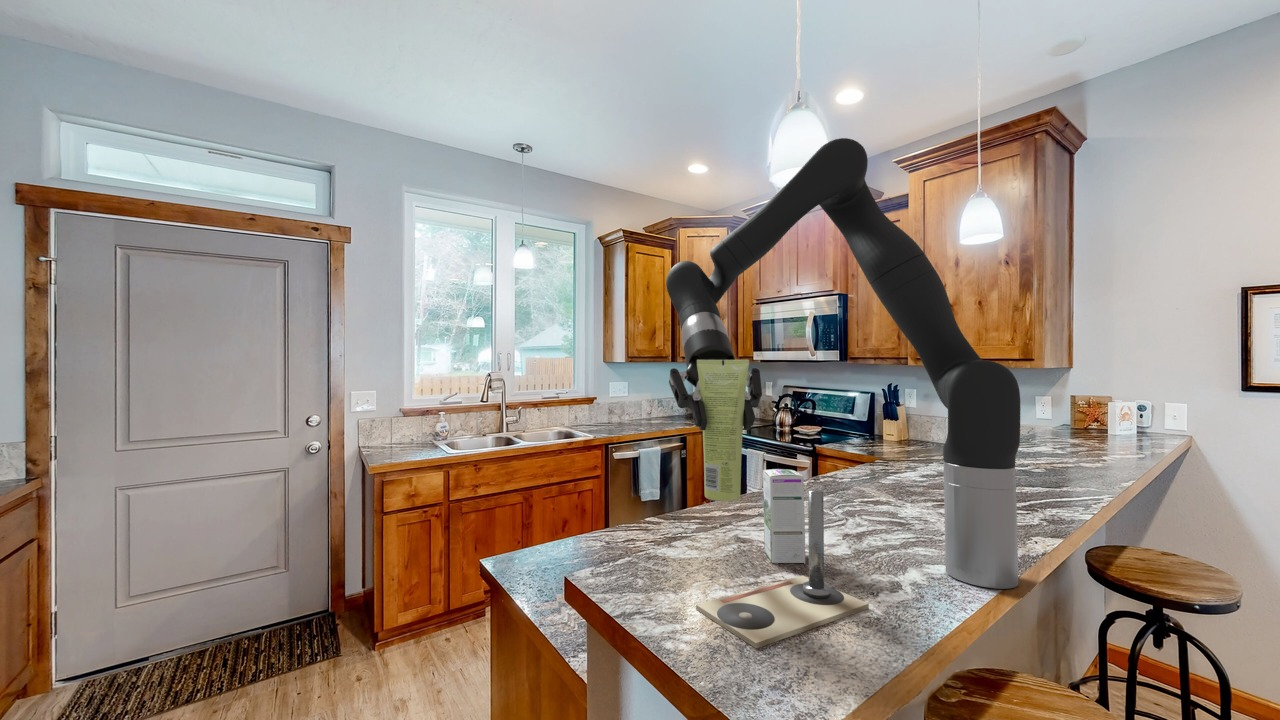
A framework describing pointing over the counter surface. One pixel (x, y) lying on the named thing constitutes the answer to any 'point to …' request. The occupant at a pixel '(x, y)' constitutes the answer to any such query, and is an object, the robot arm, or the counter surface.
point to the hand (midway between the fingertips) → (726, 426)
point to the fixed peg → (816, 547)
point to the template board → (777, 611)
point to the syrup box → (784, 516)
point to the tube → (723, 425)
